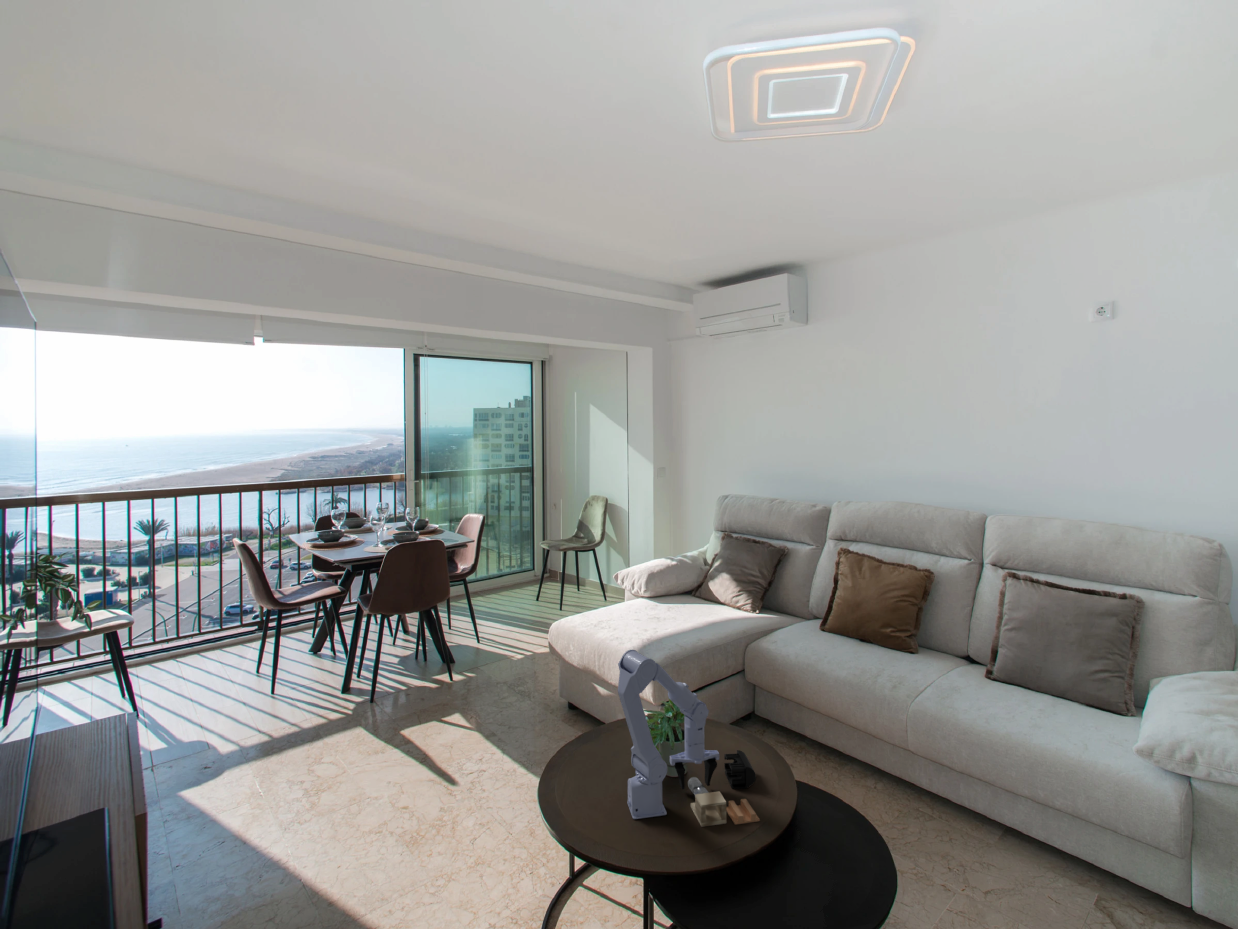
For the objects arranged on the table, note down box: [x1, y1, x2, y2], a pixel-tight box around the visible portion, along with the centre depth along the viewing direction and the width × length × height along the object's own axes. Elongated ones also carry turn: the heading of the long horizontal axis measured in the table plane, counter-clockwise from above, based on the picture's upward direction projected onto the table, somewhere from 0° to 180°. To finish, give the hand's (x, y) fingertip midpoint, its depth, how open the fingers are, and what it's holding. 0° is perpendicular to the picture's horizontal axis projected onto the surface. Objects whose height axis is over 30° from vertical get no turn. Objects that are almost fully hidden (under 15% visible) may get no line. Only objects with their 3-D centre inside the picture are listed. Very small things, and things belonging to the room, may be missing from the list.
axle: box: [687, 776, 710, 796], centre depth 170 cm, size 10×4×4 cm, turn 11°
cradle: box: [726, 798, 761, 825], centre depth 162 cm, size 7×7×2 cm
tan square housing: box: [690, 791, 727, 828], centre depth 162 cm, size 7×9×6 cm
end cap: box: [723, 749, 757, 790], centre depth 179 cm, size 10×7×7 cm
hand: (694, 785), depth 174 cm, fingers open, 7 cm apart
